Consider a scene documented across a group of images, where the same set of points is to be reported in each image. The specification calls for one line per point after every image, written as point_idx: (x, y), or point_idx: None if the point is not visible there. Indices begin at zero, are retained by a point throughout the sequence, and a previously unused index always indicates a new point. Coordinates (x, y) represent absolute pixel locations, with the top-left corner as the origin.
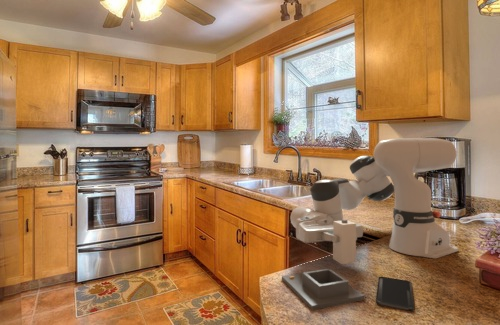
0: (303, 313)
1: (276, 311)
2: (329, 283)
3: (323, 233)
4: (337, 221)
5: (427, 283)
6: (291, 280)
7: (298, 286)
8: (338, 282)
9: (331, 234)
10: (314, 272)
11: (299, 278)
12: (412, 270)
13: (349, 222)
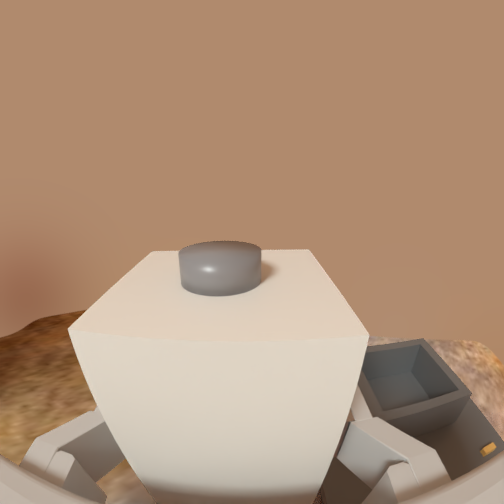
0: (440, 351)
1: (482, 355)
2: (397, 346)
3: (441, 474)
4: (295, 317)
5: (72, 369)
6: (486, 436)
7: (464, 409)
8: (372, 347)
9: (369, 428)
10: (435, 398)
11: (465, 453)
12: (13, 408)
13: (167, 271)
